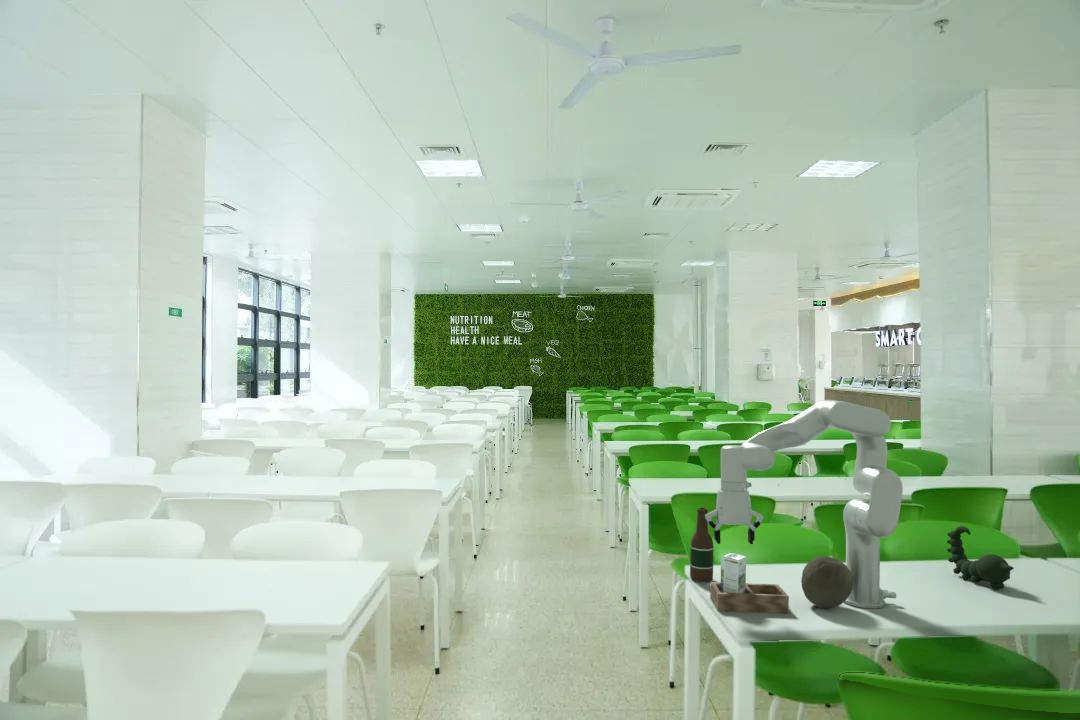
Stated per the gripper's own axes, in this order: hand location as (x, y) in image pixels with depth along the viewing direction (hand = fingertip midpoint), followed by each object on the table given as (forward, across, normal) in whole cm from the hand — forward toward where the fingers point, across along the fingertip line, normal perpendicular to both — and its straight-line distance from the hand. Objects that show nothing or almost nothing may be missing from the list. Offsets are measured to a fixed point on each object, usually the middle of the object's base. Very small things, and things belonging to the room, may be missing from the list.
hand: (734, 542), depth 205 cm
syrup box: (+19, +1, 0) cm, 19 cm away
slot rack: (+19, -4, 0) cm, 19 cm away
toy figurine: (+21, -89, -31) cm, 97 cm away
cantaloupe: (+20, -27, -1) cm, 34 cm away
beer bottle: (+19, +6, -25) cm, 32 cm away
